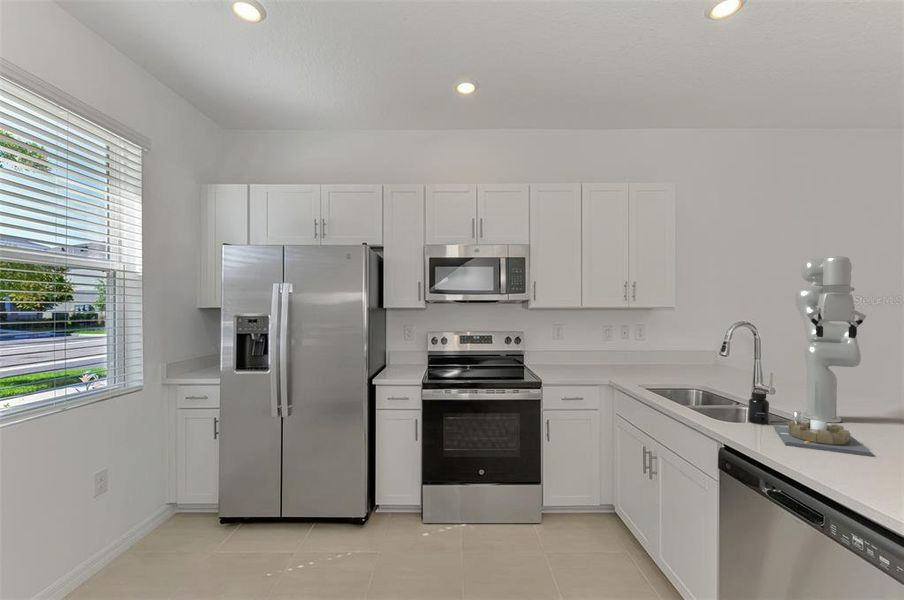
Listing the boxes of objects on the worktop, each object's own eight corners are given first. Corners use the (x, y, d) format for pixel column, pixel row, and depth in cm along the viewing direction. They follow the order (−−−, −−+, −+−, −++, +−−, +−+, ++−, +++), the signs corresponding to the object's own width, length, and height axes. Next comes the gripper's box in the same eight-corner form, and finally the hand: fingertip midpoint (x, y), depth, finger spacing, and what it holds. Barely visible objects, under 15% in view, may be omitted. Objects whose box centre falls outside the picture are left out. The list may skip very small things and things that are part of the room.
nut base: (774, 429, 171) (774, 410, 171) (849, 437, 160) (849, 418, 160) (785, 445, 151) (785, 424, 151) (871, 456, 141) (872, 434, 141)
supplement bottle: (759, 425, 175) (759, 394, 175) (743, 420, 182) (744, 391, 182) (773, 424, 177) (773, 393, 177) (757, 419, 184) (757, 390, 184)
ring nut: (785, 428, 167) (785, 406, 167) (841, 434, 159) (841, 411, 159) (794, 439, 152) (794, 416, 152) (856, 447, 145) (856, 422, 145)
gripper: (859, 291, 166) (859, 337, 165) (803, 290, 171) (803, 336, 171) (871, 290, 159) (871, 339, 158) (812, 289, 164) (812, 337, 164)
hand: (835, 337), depth 164 cm, fingers open, 9 cm apart
